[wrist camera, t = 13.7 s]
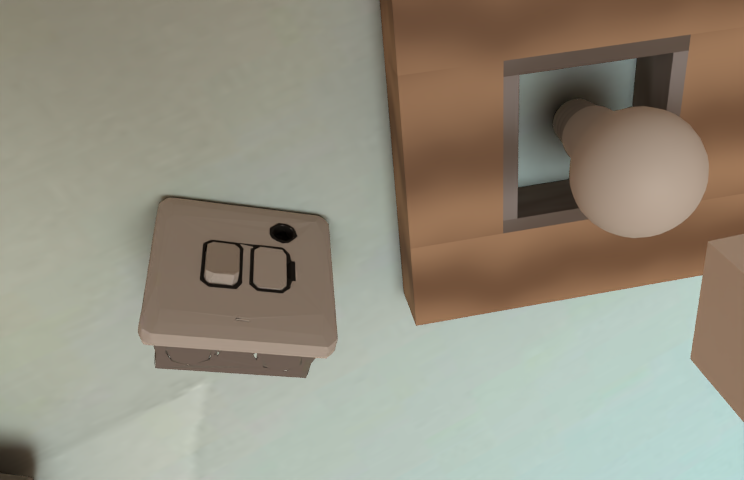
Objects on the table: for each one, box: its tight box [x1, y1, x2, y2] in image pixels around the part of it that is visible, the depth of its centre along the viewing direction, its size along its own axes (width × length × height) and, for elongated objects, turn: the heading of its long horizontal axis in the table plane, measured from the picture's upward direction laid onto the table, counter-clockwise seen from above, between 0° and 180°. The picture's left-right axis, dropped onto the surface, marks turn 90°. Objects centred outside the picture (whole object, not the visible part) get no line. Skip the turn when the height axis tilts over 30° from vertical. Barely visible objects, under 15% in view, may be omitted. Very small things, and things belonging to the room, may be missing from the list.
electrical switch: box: [138, 198, 338, 378], centre depth 37 cm, size 9×5×9 cm, turn 77°
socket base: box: [380, 0, 744, 326], centre depth 39 cm, size 20×20×4 cm
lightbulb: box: [553, 98, 709, 238], centre depth 35 cm, size 6×6×11 cm
